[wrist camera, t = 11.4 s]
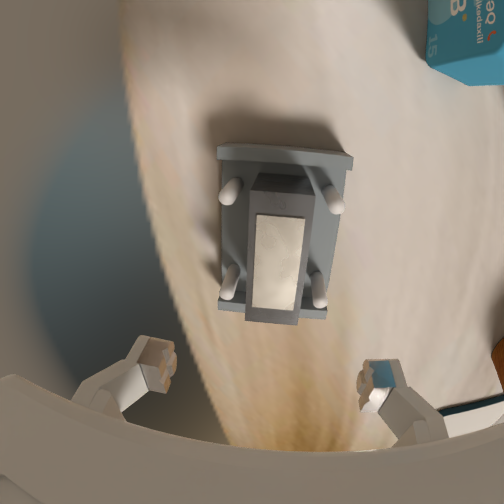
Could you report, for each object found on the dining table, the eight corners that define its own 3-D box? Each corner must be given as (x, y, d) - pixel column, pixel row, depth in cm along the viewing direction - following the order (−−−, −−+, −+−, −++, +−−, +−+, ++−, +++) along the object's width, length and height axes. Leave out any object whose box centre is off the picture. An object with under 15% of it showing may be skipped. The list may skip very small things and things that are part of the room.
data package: (426, -29, 13) (485, -76, 2) (464, -9, 13) (532, -41, 2) (423, 69, 18) (507, 51, 7) (462, 87, 18) (552, 88, 7)
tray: (225, 142, 23) (210, 149, 19) (345, 152, 23) (359, 161, 18) (224, 290, 30) (213, 323, 25) (322, 299, 29) (327, 333, 24)
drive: (258, 172, 23) (249, 190, 18) (308, 176, 23) (315, 196, 17) (253, 280, 27) (244, 321, 22) (296, 283, 27) (297, 326, 22)
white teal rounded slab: (515, 389, 35) (518, 395, 33) (488, 421, 40) (491, 427, 38) (432, 408, 37) (434, 417, 35) (406, 440, 42) (408, 448, 41)
